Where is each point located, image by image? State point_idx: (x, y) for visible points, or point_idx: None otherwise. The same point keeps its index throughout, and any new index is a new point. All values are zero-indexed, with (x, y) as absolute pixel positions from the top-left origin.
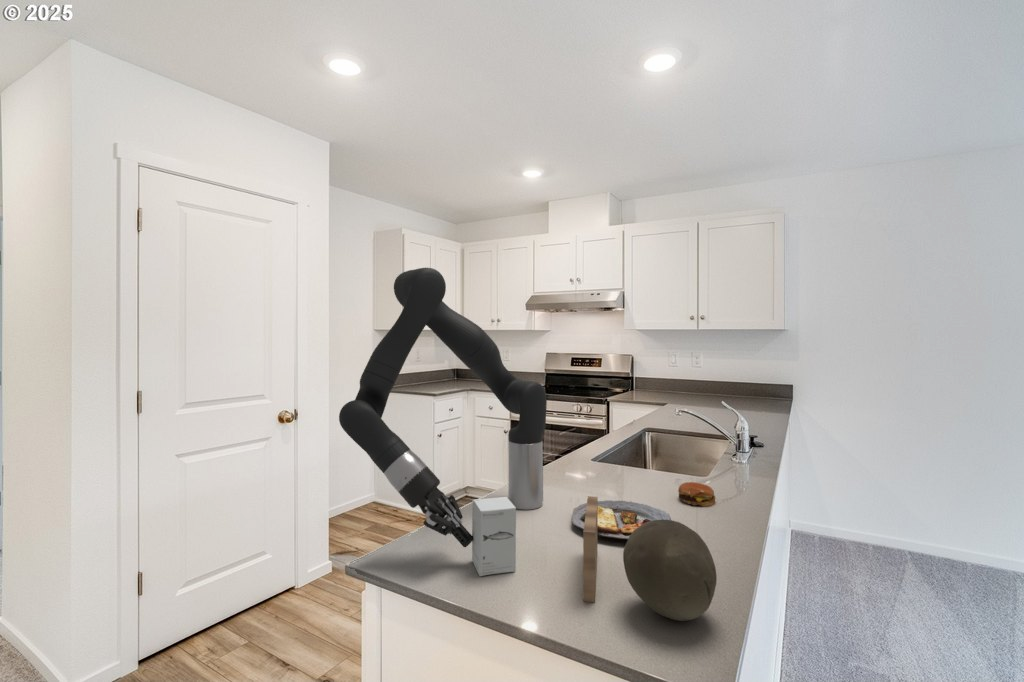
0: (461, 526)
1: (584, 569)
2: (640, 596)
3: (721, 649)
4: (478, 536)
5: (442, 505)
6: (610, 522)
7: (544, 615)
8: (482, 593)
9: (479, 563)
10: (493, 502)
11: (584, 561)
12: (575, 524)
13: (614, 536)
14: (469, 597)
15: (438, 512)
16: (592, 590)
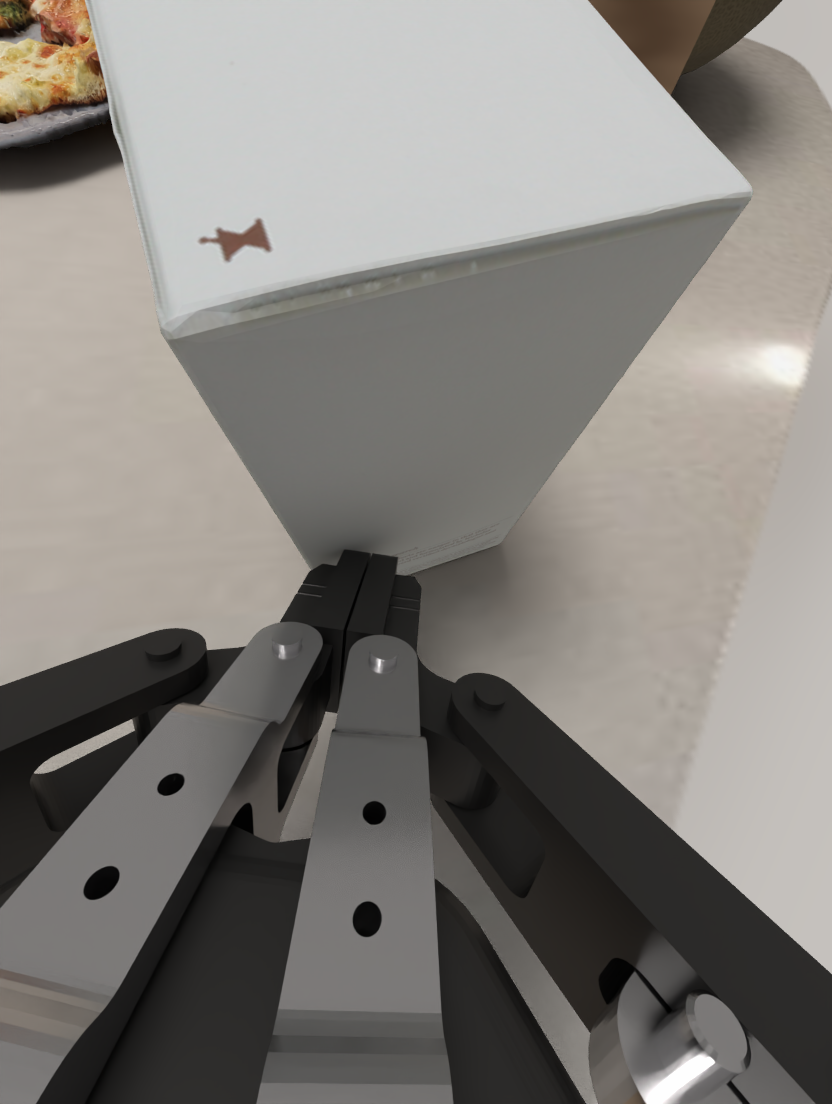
0: (345, 624)
1: (672, 88)
2: (737, 32)
3: (731, 47)
4: (533, 457)
5: (441, 1066)
6: (6, 48)
7: (715, 324)
8: (632, 520)
9: (511, 523)
10: (372, 54)
11: (694, 41)
12: (14, 139)
13: None
14: (675, 568)
15: (549, 1047)
16: None
